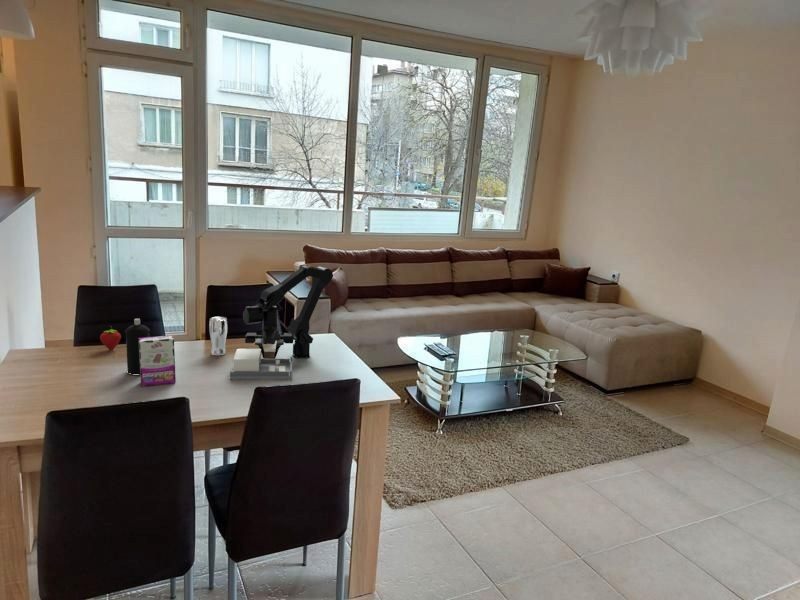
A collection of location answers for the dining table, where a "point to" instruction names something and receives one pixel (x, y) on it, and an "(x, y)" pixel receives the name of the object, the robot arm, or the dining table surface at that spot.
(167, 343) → the candy bar box
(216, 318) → the beer glass
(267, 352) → the walnut block
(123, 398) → the dining table surface
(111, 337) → the strawberry
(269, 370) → the housing base
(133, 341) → the black bottle
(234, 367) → the cover
